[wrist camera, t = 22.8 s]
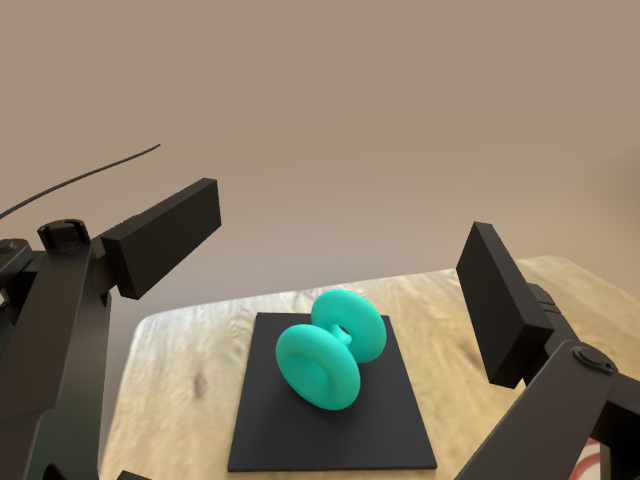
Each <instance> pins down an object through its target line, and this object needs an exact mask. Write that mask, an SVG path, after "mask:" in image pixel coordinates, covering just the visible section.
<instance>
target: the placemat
mask: <svg viewBox="0 0 640 480" xmlns="http://www.w3.org/2000/svg"><path fill="white" fill-rule="evenodd" d="M380 316H381V318H382V320H383V322H384V325H385V329H386V344H385V347H384V349H383V351H382V353H381V354H380V355H379V356H378V357H377V358H375V359H374V360H372V361H369V362H365V363H356V364H357V366H358V370H359V374H360V389H359V393H358V396H357V397H356V399H355V400H354V402H353V403H352V404H351V405H349V406H348V407H346V408H343V409H340V410H328V409H324V408H321V407H318V406H316V405H314V404H312V403H310V402H309V401H307V400H306V399H304V398H303V397H302V396H300V395H299V394H298V393H297V392H296V391H295V390H294V389H293V388H292V387H291V386H290V384H289V383H288V382H287V381H286V379H285V378H284V376H283V374H282V372H281V371H280V368H279V366H278V363H277V359H276V345H277V341H278V339H279V337H280V336H281V334H282V333H283V332H284V331H285V330H287V329H288V328H290V327H292V326H295V325H300V324H307V325H312V322H311V314H302V313H260V312H258V313H257V317H256V322H255V328H254V333H253V338H252V343H251V348H250V354H249V359H248V364H247V369H246V374H245V380H244V385H243V390H242V395H241V400H240V406H239V411H238V416H237V421H236V426H235V432H234V437H233V442H232V447H231V452H230V458H229V463H228V468H227V469H228V472H249V471H318V470H386V469H436V468H437V463H436V460H435V457H434V454H433V451H432V448H431V445H430V441H429V438H428V435H427V432H426V429H425V426H424V423H423V420H422V417H421V414H420V411H419V408H418V405H417V402H416V399H415V395H414V392H413V389H412V386H411V383H410V380H409V377H408V374H407V371H406V368H405V365H404V362H403V359H402V356H401V353H400V349H399V346H398V343H397V340H396V337H395V334H394V331H393V328H392V325H391V322H390V319H389V316H386V315H380ZM338 326H339V327H340V328H341V330H343V331H344V332H345V333H347V334H348V335H350V334H349V332H348V331H347V330H346V329H345V328H343V327H342V326H340V325H338Z"/></svg>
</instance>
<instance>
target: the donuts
mask: <svg viewBox="0 0 640 480" xmlns="http://www.w3.org/2000/svg"><path fill="white" fill-rule="evenodd" d="M311 322H312V325H307V324H300V325H295V326H292V327H290V328H288V329H287V330H285V331H284V332H283V333H282V334H281V336H280V337H279V339H278V341H277V345H276V359H277V363H278V366H279V368H280V371H281V372H282V374H283V376H284V378H285V379H286V381H287V382H288V383H289V384H290V386H291V387H292V388H293V389H294V390H295V391H296V392H297V393H298V394H299V395H300V396H302V397H303V398H304V399H306V400H307V401H309V402H310V403H312V404H314V405H316V406H318V407H321V408H324V409H328V410H340V409H343V408H346V407H348V406H349V405H351V404H352V403H353V402H354V400H355V399H356V397H357V396H358V393H359V389H360V374H359V370H358V366H357V364H356V363H365V362H369V361H372V360H374V359H375V358H377V357H378V356H379V355H380V354H381V353H382V351H383V349H384V347H385V344H386V329H385V325H384V322H383V320H382V318H381V316H380V314H379V313H378V311H377V310H376V309H375V308H374V307H373V306H372V305H371V304H370V303H369V302H368V301H367V300H366V299H364V298H363V297H361V296H359V295H358V294H356V293H353V292H350V291H347V290H340V289H337V290H330V291H327V292H325V293H323V294H321V295H320V296H319V297H318V298H317V299H316V301H315V302H314V304H313V307H312V311H311ZM338 325H340V326H342V327H343V328H345V329H346V330H347V331H348V332H349V334H350V335H348V334H347V333H345V332H344V331H343V330H341V328H340V327H339V326H338Z"/></svg>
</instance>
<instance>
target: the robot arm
mask: <svg viewBox="0 0 640 480" xmlns="http://www.w3.org/2000/svg"><path fill="white" fill-rule="evenodd" d="M159 146H160V144H158V145H156V146H154V147H153V148H151V149H148V150H146V151H144V152H142V153H139V154H137V155H134V156H132V157H129V158H127V159H124V160H122V161H118V162H116V163H113V164H110V165H108V166H105V167H103V168H100V169H97V170H94V171H92V172H89V173H87V174H84V175H81V176H79V177H76V178H74V179H71V180H69V181H66V182H64V183H62V184H59V185H57V186H55V187H52V188H50V189H48V190H46V191H44V192H42V193H39V194H37V195H35V196H33V197H31V198H29V199H27V200H25V201H23V202H22V203H20V204H18V205H16V206H14V207H12V208H10V209H9V210H7V211H5V212H3V213H2V214H0V219H1V218H3V217H5V216H6V215H8V214H10V213H11V212H13V211H15V210H17V209H18V208H20V207H22V206H24V205H26V204H27V203H29V202H31V201H33V200H35V199H37V198H39V197H41V196H43V195H45V194H47V193H50V192H51V191H54V190H56V189H58V188H60V187H63V186H65V185H67V184H70V183H72V182H74V181H77V180H79V179H81V178H84V177H87V176H89V175H92V174H94V173H97V172H99V171H102V170H104V169H107V168H110V167H112V166H115V165H118V164H120V163H123V162H126V161H128V160H131V159H133V158H136V157H138V156H140V155H143V154H145V153H147V152H149V151H152V150H154V149H155V148H157V147H159ZM220 226H221V216H220V206H219V197H218V187H217V180H215V179H208V178H202V179H201V180H199V181H197V182H195V183H194V184H192V185H190V186H188V187H187V188H185V189H183V190H182V191H180V192H178V193H176V194H174V195H173V196H171V197H169V198H167V199H165V200H164V201H162V202H160V203H158V204H157V205H155V206H153V207H152V208H150V209H148V210H146V211H144V212H143V213H141V214H139V215H135V216H132V217H131V218H129V219H127V220H125V221H124V222H123V223H120V224H118V225H116V226H115V227H113V228H111V229H109V230H107V231H106V232H104V233H102V234H100V235H98V236H97V237H95V238H93V239H91V240H90V237H89V235H88V232H87V229H86V227H85V224H84V222H83V221H81V220H77V219H65V220H58V221H54V222H51V223H48V224H46V225H44V226H42V227H40V228H39V229H38V230H37V232H38V234H39V236H40V239H41V241H42V243H43V245H44V247H45V249H46V251H32V249H31V247H30V245H29V243H28V242H27V240H24V239H4V240H2V241H0V293H1V295H2V297H3V298H4V300H5V301H4V302H3V303H2V304H1V305H0V480H99V477H98V470H97V459H98V448H99V437H100V425H101V414H102V401H103V391H104V379H105V367H106V356H107V345H108V333H109V322H110V311H111V299H112V297H111V294H110V291H109V290H110V289H111V288H113V287H114V286H115V285H117V287H118V289H119V292H120V295H121V296H122V297H126V298H130V299H135V300H139V299H140V298H141V297H142V296H143V295H144V294H145V293H146V292H147V291H149V290H150V289H151V288H152V287H153V286H154V285H155V284H156V283H157V282H159V281H160V280H161V279H162V278H163V277H164V276H165V275H167V274H168V273H169V272H170V271H171V270H172V269H173V268H174V267H175V266H176V265H178V264H179V263H180V262H181V261H182V260H183V259H184V258H185V257H187V256H188V255H189V254H190V253H191V252H192V251H193V250H194V249H195V248H197V247H198V246H199V245H200V244H201V243H202V242H203V241H204V240H206V239H207V237H209V236H210V235H211V234H212V233H213V232H214V231H216V230H217V229H218V228H219V227H220ZM456 271H457V274H458V278H459V281H460V284H461V288H462V291H463V295H464V298H465V302H466V305H467V308H468V312H469V315H470V319H471V322H472V325H473V329H474V332H475V336H476V339H477V342H478V346H479V349H480V353H481V356H482V360H483V363H484V366H485V370H486V373H487V377H488V380H489V383H490V384H494V385H499V386H503V387H507V388H511V389H515V388H516V386H517V385H518V383H519V382H520V380H521V379H522V377H523V380H524V382H525V385H526V388H525V390H524V391H523V392H522V394H521V395H520V396H519V397H518V399H517V400H516V401H515V402H514V404H513V405H512V406H511V408H510V409H509V410H508V411H507V413H506V414H505V415H504V416H503V418H502V419H501V420H500V422H499V423H498V424H497V425H496V427H495V428H494V429H493V430H492V432H491V433H490V434H489V436H488V437H487V438H486V439H485V441H484V442H483V443H482V444H481V446H480V447H479V448H478V450H477V451H476V452H475V453H474V455H473V456H472V457H471V458H470V460H469V461H468V462H467V464H466V465H465V466H464V467H463V469H462V470H461V471H460V472H459V474H458V475H457V476H456V478H455V479H454V480H569V478H570V476H571V474H572V472H573V469H574V467H575V465H576V463H577V461H578V459H579V457H580V455H581V453H582V451H583V449H584V447H585V445H586V443H587V441H588V438H589V437H590V438H592V439H594V440H596V441H598V442H600V480H640V381H638V380H635V379H633V378H630V377H628V376H626V375H623V374H621V373H619V372H618V369H617V367H616V366H615V364H614V362H612V361H611V360H610V359H609V358H608V357H607V356H606V355H605V354H604V353H602V352H601V351H599V350H598V349H596V348H594V347H592V346H590V345H588V344H586V343H584V342H581V341H580V340H579V338H578V337H577V335H576V334H575V332H574V331H573V329H572V328H571V326H570V325H569V323H568V322H567V320H566V319H565V317H564V316H563V315H561V312H560V310H559V309H558V307H557V306H556V304H555V303H554V301H553V300H552V298H551V297H550V295H549V294H548V293H547V292H546V291H544V290H543V289H542V288H541V287H540V286H538V285H537V284H532V283H527V282H526V281H525V279H524V277H523V276H522V274H521V272H520V271H519V269H518V267H517V266H516V264H515V262H514V261H513V259H512V257H511V256H510V254H509V252H508V251H507V249H506V247H505V246H504V244H503V242H502V241H501V239H500V238H499V236H498V234H497V233H496V231H495V229H494V228H493V226H492V225H491V224H487V223H481V222H475V221H474V223H473V226H472V228H471V231H470V234H469V236H468V239H467V241H466V244H465V247H464V249H463V252H462V254H461V257H460V260H459V262H458V264H457V267H456ZM117 480H151V479H148V478H145V477H142V476H139V475H136V474H133V473H130V472H127V471H124V470H123V471H122V472H121V474H120V475H119V477H118V478H117Z"/></svg>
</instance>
